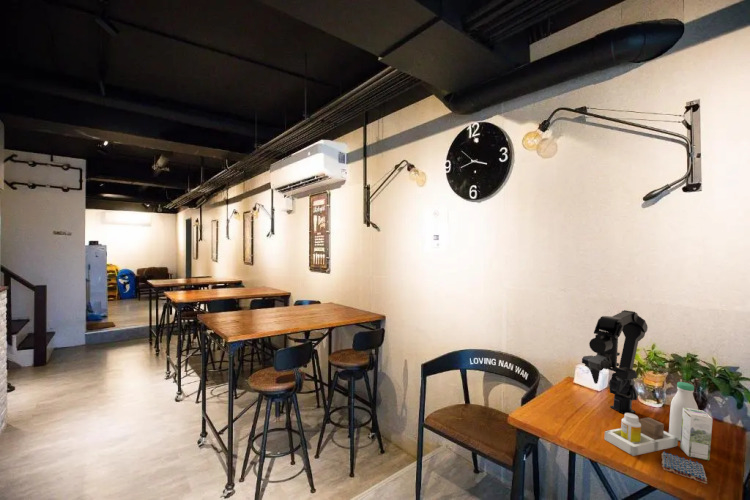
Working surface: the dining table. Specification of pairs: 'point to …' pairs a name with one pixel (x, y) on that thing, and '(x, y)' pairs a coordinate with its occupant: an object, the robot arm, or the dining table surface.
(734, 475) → the dining table surface
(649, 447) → the grey divided tray
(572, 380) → the dining table surface
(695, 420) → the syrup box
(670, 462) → the woven mat
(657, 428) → the walnut block
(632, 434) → the supplement bottle
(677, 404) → the milk bottle
